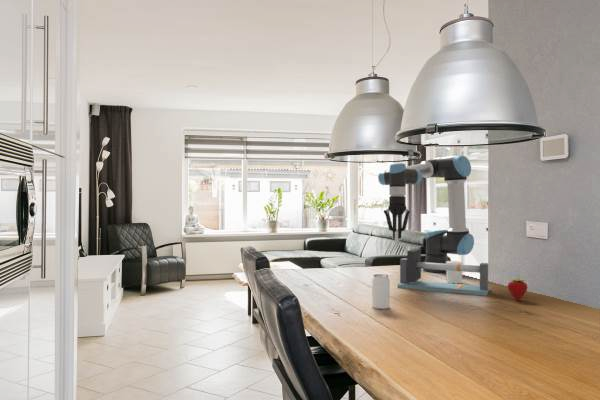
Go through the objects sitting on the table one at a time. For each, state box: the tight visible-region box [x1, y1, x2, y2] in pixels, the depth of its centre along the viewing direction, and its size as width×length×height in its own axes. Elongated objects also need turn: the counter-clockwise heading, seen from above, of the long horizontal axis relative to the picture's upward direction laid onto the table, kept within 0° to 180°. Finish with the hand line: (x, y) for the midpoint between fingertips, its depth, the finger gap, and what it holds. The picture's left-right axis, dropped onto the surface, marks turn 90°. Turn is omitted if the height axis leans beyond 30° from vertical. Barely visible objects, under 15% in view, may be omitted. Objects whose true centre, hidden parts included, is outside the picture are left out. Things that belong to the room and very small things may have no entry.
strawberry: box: [507, 274, 528, 301], centre depth 182 cm, size 6×8×10 cm
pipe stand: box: [397, 257, 490, 296], centre depth 206 cm, size 38×14×12 cm, turn 62°
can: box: [371, 273, 391, 310], centre depth 170 cm, size 6×6×12 cm
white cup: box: [445, 260, 464, 284], centre depth 222 cm, size 8×8×10 cm
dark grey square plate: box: [406, 248, 422, 282], centre depth 212 cm, size 3×14×14 cm, turn 152°
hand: (397, 245), depth 215 cm, fingers closed
